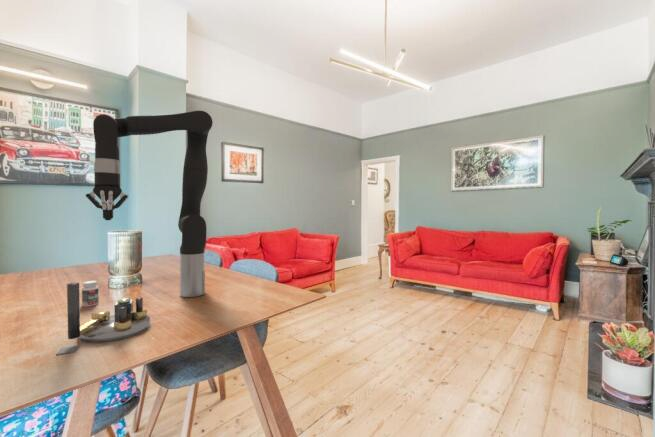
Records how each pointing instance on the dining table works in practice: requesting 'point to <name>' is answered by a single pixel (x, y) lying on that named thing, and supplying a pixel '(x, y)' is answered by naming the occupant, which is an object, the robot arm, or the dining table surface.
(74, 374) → the dining table surface
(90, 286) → the pill bottle
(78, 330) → the lever
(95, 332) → the tribrach plate
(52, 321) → the dining table surface
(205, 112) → the robot arm
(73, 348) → the plate
